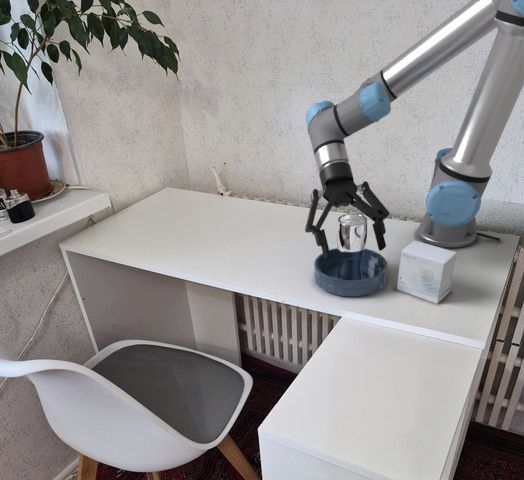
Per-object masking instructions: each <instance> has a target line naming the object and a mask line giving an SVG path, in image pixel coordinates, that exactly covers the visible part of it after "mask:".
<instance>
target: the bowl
mask: <svg viewBox="0 0 524 480" xmlns="http://www.w3.org/2000/svg"><path fill="white" fill-rule="evenodd" d="M329 251H330V255H331V256H330V258H329V259H328V260H324V256H323V252H321V253H320V254H318V256H317V257H316V258H315V260H314V263H313V270H314V271H313V280H314V282H315V284H316V285H317V287H319V288H320V289H322V290H323V291H325V292H327V293H330V294H333V295H335V296H342V297H361V296H366V295H369V294H372V293H375V292H378V291H379V290H380V289H381V288H383V287H384V286H385V284H386V282H387V274H388V261H387V259H386V258H385V256H383V255H382V254H381V253H379V252H377V251H375V250H372V249H369V248H365V251H364V254H363V258H362V263H361V270H362V279H361V280H341V279H337V273H338V269H339V257H338V250H337V247H335V248H330V249H329Z"/></svg>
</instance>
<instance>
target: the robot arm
mask: <svg viewBox="0 0 524 480" xmlns="http://www.w3.org/2000/svg"><path fill="white" fill-rule="evenodd" d="M496 29H497V32H496V35H495V37H494V40H493V42H492V45H491V48H490V51H489V53H488V55H487V58H486V61H485V63H484V66H483V69H482V71H481V74H480V76H479V79H478V81H477V84H476V87H475V90H474V92H473V94H472V96H471V100H470V102H469V105H468V107H467V109H466V113H465V115H464V118H463V120H462V123H461V124H460V125H461V126H460V128H459V131H458V134H457V135H456V139H455V141H454V143H453V147H446V148H442V149H440V150H438V152H437V153H436V156H435V159H434V168H433V173H432V174H433V175H432V178H431V183H430V187H429V189H428V193H427V195H426V198H425V205H426V211H425V214H424V215H423V217H422V219H421V222H420V223H419V226H418V230H417V236H418V238H419V239H420V240H421V242H423V243H426V244H429V245H433V246H436V247H440V248H443V249H459V248H464V247H468V246H470V245H472V244H473V243H474V242H475V241H477V237H478V236H479V237H483V238H486V239H490V240H494V241H498V242H500V240H501V238H500V237H496V236H494V235H490V234H486V233H482V232H478V227H477V219H476V216H477V214H478V212H479V211H480V209H481V204H482V197H483V195H484V192H485V190H486V189H487V186H488V184H489V181H490V180H491V177H492V176H493V175H492V174H493V169H492V165H490V162H491V161H492V158H493V156H494V153H495V151H496V148H497V146H498V144H499V142H500V140H501V138H502V135H503V132H504V131H505V129H506V126H507V123H508V121H509V119H510V117H511V115H512V112H513V110H514V108H515V106H516V103H517V101H518V99H519V97H520V94H521V92H522V90H523V88H524V0H470V1H469V2H467V3H466V4H465V5H464V6H462V7H460V8H459V9H458V10H457V11H456V12H455V13H453V14H451V16H449V17H448V18H446V19H445V20H444V21H443V22H442V23H440V24H439V25H438V26H436V27H435V28H434V29H432V30H431V31H429V32H428V33H427V34H426V35H425V36H423V37H422V38H420V39H419V40H418V41H417V42H416V43H414V44H413V45H411V46H410V47H409V48H408V49H406V50H405V51H403V53H401V54H400V55H398V56H397V57H396V58H394V59H393V60H392V61H390V62H389V63H388V64H387V65H386V66H384V67H383V68H382V69H381V70H379V71H377V72H376V73H375V74H374V75H372V76H371V77H368V78H367V79H366V80H365V81H364V82H362V84H361V85H360V86H359V88H358V89H357V90H356V91H355V92H354V93H353V94H352V95H350V96H349V97H347V98H345V99H344V100H342V101H340V102H339V103H337V104H335V103H334V102H332V101H330V100H321V101H320V102H316V103H314V104H312V105H311V106H310V107H308V109H307V110H306V113H305V122H306V127H307V133H308V137H309V140H310V143H311V147H312V151H313V156H314V159H315V164H316V169H317V171H318V173H319V174H318V176H319V177H318V178H319V181H320V184H321V189H322V190H318V188H314V189H312V192H311V194H310V201H311V203H310V207H309V211H308V215H307V220H306V224H305V228H304V232H305V233H311V234H312V235H313V236H314V239H315V243H316V246H317V247H321V253H323V256H324V260H328V259H329V258H330V256H331V255H330V251H329V250H330V247H329V243H328V239H327V235H326V231H325V229H324V228H323V229H321V228H322V226H323V224H324V223H325V221H326V219H327V218H328V215H329V213H330V211H331V209H332V208H333V207H334V208H335V209H338V208H341V207H349V206H351V207H353V208H355V209H356V210H358V211H360V212H361V213H362V214H364V216H365V217H366V218H369V219H370V220H371V221H372V222H373V224H372V229H373V232H374V236H375V241H376V245H377V249H378V251H379V252H380V251H381V252H382V251H383V250H384V249H385V248H386V247H387V243H386V240H385V236H384V235H385V234H386V232H387V231H386V226H385V222H384V221H385V220H387V218H388V217H389V216H390V214H391V213H390V211H389V210H388V209H387V207H386V206H385V205H384V204H383V203H382V202H381V200H380V198H378V197H377V196H376V194H375V193H374V192H373V191H372V189H371V187H370V184H369V182H368V181H367V180H366V181H365V180H364V181H363V182H362V183H360V184H356V182H355V181H354V175H353V172H352V167H351V164H350V159H349V156H348V152H347V151H348V150H347V148H346V144H345V139H347V138H348V137H350V136H352V135H353V134H356V133H357V132H359V131H361V130H363V129H365V128H367V127H369V126H370V125H372V124H374V123H378V122H379V121H381V120H382V119H383V118H385V117H386V116H388V115H389V114H390V113H391V110H392V106H391V105H392V104H391V103H393V102H394V101H396V100H397V99H398V98H399V97H401V96H402V95H403V94H405V93H406V92H408V91H409V90H410V89H412V88H414V87H415V86H416V85H418V84H419V83H420V82H422V81H423V80H425V79H426V78H428V77H429V76H431V75H432V74H433V73H435V72H436V71H437V70H439V69H440V68H442V67H443V66H444V65H447V64H448V63H450V62H451V61H452V60H453V59H454V58H456V57H458V56H459V55H460V54H462V53H463V52H464V51H466V50H467V49H469V48H470V47H471V46H473V45H474V44H476V43H477V42H478V41H480V40H482V39H483V38H484V37H486V36H487V35H488V34H490V33H492V32H493V31H494V30H496ZM357 192H359V194H360V195H359V194H358V193H357ZM361 195H362V197H361ZM322 198H323V199H324V200H325V201H327V203H326V205H325V207H324V209H323V211H322V213H321V214H320V217H319V219H318V220H317V222H316V224H314V221H315V218H316V214H317V208H318V206H319V202H320V200H321V199H322ZM363 198H364V200H363ZM365 200H366V201H365Z"/></svg>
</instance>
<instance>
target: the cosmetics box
mask: <svg viewBox="0 0 524 480" xmlns="http://www.w3.org/2000/svg"><path fill="white" fill-rule="evenodd" d="M457 255H458V252H456V251H453V250H449V249H448V248H444V247H437V246H433V245H430V244H428V243H426V242H423V241H419V240H413V241H411V242H410V243H408V245H405V247H403V249H402V250H401V252H400V260H399V267H398V276H397V282H396V290H397V291H400V292H403V293H405V294H409V295H411V296H414V297H418V298H420V299H423V300H426V301H429V302H431V303H434V304H439V303H440V302H442V300H443V299H444V298H445V297H446V296H447V295H448V294H449V293H450V291H451V284H452V279H453V274H454V269H455V264H456V259H457Z"/></svg>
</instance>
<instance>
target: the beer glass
mask: <svg viewBox="0 0 524 480" xmlns="http://www.w3.org/2000/svg"><path fill="white" fill-rule="evenodd" d="M367 240H368V217H367V216H366V215H363V214H361V213H346V214H341V215H340V216H339V217H338V219H337V227H336V248H337V250H338V257H339V269H338V273H337V279H341V280H361V279H362V270H361V263H362V258H363V254H364V251H365V249H366V246H367Z"/></svg>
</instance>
